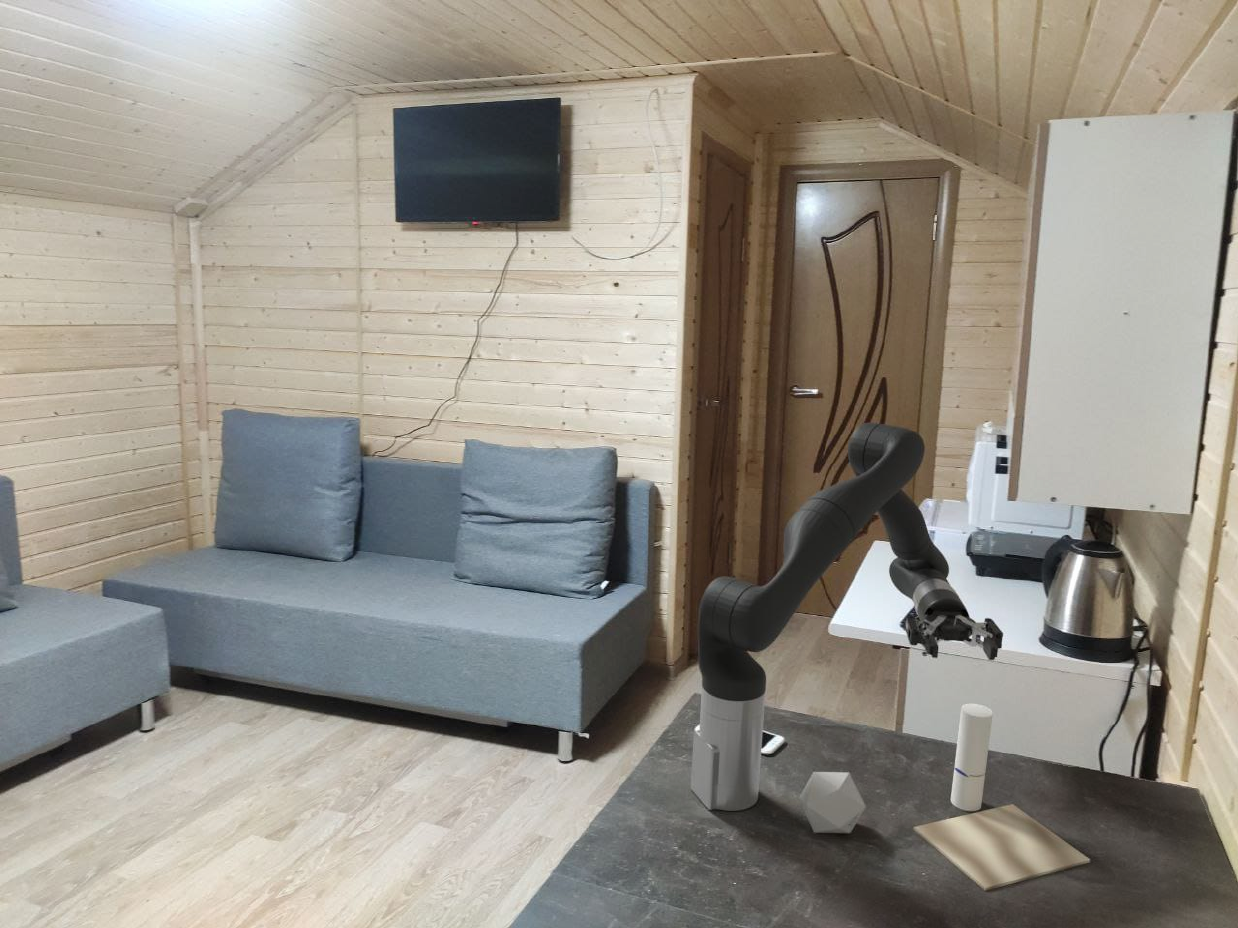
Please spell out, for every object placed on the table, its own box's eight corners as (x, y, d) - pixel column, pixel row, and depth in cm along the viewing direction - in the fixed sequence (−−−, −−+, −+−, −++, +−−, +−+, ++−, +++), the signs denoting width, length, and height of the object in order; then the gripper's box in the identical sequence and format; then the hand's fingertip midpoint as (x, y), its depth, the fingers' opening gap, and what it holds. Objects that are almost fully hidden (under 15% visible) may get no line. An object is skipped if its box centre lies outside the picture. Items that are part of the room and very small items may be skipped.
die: (848, 857, 126) (884, 795, 128) (794, 821, 127) (830, 759, 128) (832, 842, 134) (866, 784, 136) (782, 808, 135) (816, 750, 136)
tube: (980, 798, 140) (992, 706, 137) (981, 813, 136) (993, 719, 133) (950, 792, 142) (961, 701, 139) (950, 807, 138) (961, 713, 135)
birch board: (985, 890, 119) (985, 887, 119) (913, 829, 132) (913, 826, 132) (1089, 861, 126) (1090, 859, 126) (1012, 806, 139) (1012, 803, 138)
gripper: (898, 586, 159) (919, 629, 143) (984, 589, 157) (1015, 633, 142) (895, 626, 161) (915, 673, 145) (980, 629, 159) (1009, 677, 144)
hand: (964, 653), depth 144 cm, fingers open, 8 cm apart
